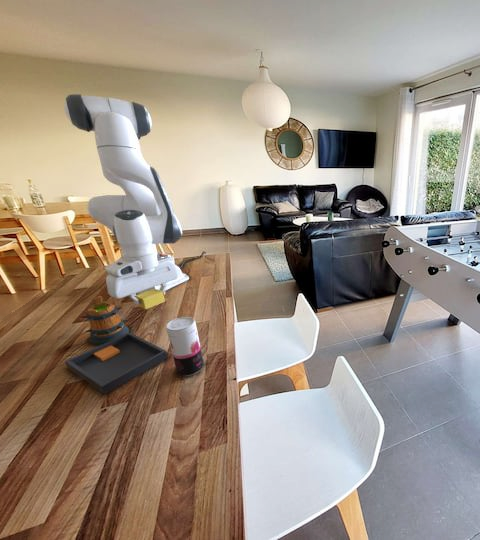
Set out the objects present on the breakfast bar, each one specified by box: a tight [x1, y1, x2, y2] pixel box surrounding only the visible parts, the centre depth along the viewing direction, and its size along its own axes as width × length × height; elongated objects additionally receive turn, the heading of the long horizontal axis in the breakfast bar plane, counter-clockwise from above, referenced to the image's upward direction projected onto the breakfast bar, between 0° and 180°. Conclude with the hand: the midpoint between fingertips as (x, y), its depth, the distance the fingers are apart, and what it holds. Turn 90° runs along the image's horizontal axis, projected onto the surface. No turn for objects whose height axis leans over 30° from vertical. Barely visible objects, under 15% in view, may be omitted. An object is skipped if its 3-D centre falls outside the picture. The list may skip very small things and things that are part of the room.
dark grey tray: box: [64, 331, 169, 395], centre depth 80 cm, size 16×19×2 cm
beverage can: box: [165, 316, 205, 377], centre depth 77 cm, size 6×6×15 cm
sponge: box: [135, 289, 166, 310], centre depth 98 cm, size 6×4×4 cm
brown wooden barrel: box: [81, 295, 130, 346], centre depth 91 cm, size 13×10×12 cm
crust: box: [93, 346, 120, 361], centre depth 83 cm, size 4×4×1 cm
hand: (150, 299), depth 98 cm, fingers closed on sponge, 6 cm apart
